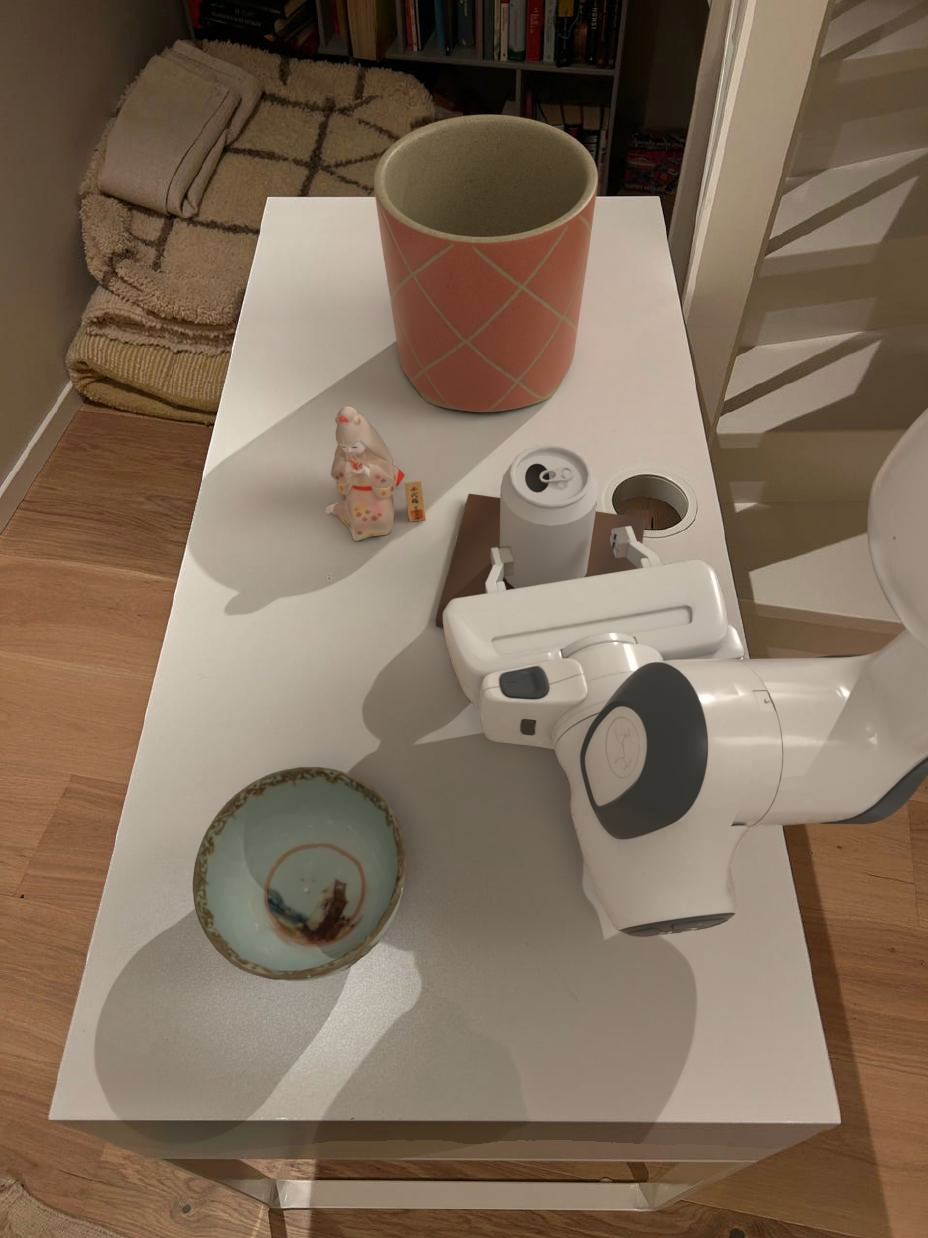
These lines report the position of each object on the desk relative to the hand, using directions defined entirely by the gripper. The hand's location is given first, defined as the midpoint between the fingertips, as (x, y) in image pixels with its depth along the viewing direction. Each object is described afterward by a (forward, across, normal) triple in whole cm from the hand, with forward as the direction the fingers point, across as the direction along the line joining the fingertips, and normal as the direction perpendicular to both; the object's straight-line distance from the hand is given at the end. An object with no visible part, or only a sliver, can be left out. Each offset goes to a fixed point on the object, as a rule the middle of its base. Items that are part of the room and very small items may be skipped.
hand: (560, 541), depth 71 cm
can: (+3, 0, +8) cm, 8 cm away
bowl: (-21, +22, +9) cm, 32 cm away
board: (+3, 0, +9) cm, 9 cm away
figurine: (+13, +14, +9) cm, 21 cm away
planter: (+31, 0, +9) cm, 32 cm away
